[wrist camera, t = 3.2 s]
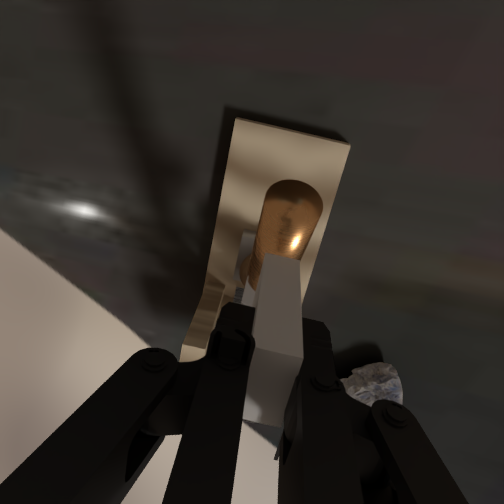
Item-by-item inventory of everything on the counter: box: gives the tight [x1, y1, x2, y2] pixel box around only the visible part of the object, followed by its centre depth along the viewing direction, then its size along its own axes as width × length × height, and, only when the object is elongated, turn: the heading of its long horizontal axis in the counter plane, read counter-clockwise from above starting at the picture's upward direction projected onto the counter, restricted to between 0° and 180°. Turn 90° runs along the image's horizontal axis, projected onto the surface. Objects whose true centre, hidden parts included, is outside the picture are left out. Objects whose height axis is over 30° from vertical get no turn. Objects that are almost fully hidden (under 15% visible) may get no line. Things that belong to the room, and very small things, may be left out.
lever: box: [233, 179, 323, 423], centre depth 32 cm, size 32×6×8 cm
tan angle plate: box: [180, 117, 351, 362], centre depth 38 cm, size 22×11×13 cm, turn 168°
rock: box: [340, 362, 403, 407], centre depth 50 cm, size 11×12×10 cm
